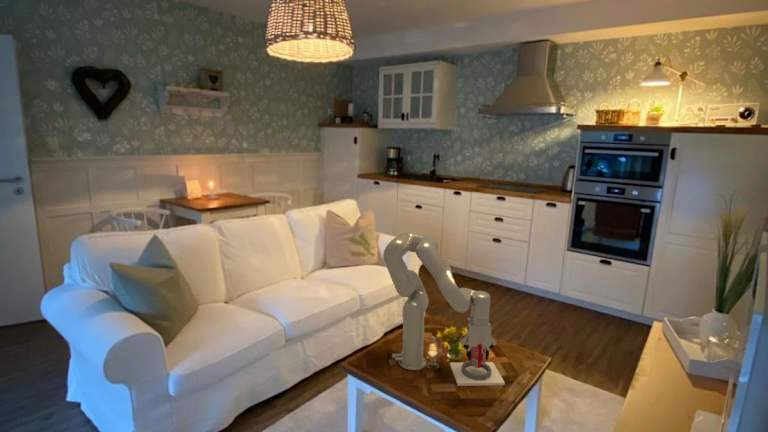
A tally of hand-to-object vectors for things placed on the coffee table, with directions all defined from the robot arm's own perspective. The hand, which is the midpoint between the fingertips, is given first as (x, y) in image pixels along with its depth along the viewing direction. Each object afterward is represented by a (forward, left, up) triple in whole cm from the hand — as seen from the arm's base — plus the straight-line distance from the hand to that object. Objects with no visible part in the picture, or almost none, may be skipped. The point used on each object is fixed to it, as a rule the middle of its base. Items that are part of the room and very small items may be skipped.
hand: (477, 357), depth 177 cm
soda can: (0, 0, -4) cm, 4 cm away
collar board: (0, 0, -8) cm, 8 cm away
